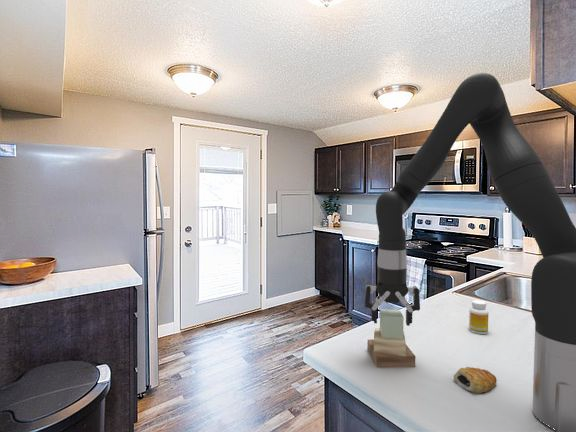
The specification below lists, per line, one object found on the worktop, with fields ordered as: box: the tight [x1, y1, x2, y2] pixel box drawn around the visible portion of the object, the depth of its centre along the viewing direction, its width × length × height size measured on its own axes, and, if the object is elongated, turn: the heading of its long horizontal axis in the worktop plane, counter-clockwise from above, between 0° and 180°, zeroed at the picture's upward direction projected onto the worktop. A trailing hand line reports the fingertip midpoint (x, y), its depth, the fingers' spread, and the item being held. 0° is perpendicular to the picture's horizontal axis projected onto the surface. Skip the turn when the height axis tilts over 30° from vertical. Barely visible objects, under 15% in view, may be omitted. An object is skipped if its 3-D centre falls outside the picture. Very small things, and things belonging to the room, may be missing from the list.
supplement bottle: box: [468, 299, 489, 335], centre depth 105 cm, size 5×5×10 cm
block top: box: [373, 327, 407, 356], centre depth 89 cm, size 8×8×4 cm
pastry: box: [452, 366, 498, 394], centre depth 76 cm, size 9×7×4 cm
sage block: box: [379, 308, 404, 340], centre depth 89 cm, size 6×6×6 cm
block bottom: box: [366, 338, 416, 368], centre depth 89 cm, size 10×10×4 cm
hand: (391, 323), depth 89 cm, fingers open, 8 cm apart
